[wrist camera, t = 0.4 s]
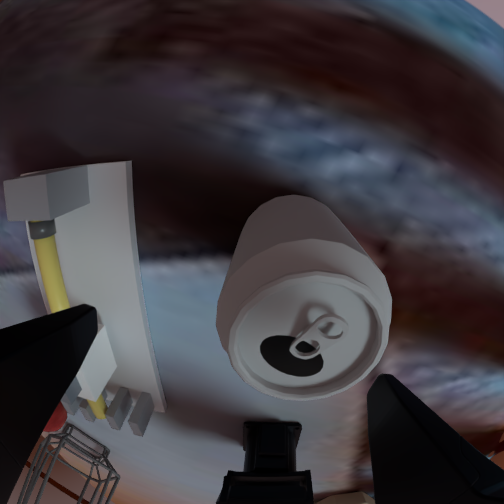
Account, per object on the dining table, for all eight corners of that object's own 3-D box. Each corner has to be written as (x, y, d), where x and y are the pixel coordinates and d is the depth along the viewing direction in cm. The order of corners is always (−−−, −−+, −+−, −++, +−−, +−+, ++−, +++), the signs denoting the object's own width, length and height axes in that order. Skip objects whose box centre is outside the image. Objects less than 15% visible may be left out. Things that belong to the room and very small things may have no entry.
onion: (70, 412, 33) (48, 448, 25) (41, 388, 32) (16, 422, 24) (79, 400, 31) (54, 440, 24) (47, 373, 30) (18, 411, 22)
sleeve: (117, 366, 25) (86, 417, 18) (77, 356, 25) (44, 401, 18) (104, 324, 23) (65, 375, 16) (63, 316, 23) (22, 359, 17)
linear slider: (167, 406, 29) (152, 447, 23) (81, 385, 30) (61, 417, 24) (131, 160, 20) (86, 169, 14) (27, 173, 20) (-19, 185, 15)
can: (221, 254, 22) (174, 363, 11) (280, 171, 20) (292, 207, 8) (300, 305, 23) (316, 430, 12) (362, 233, 21) (440, 325, 9)
